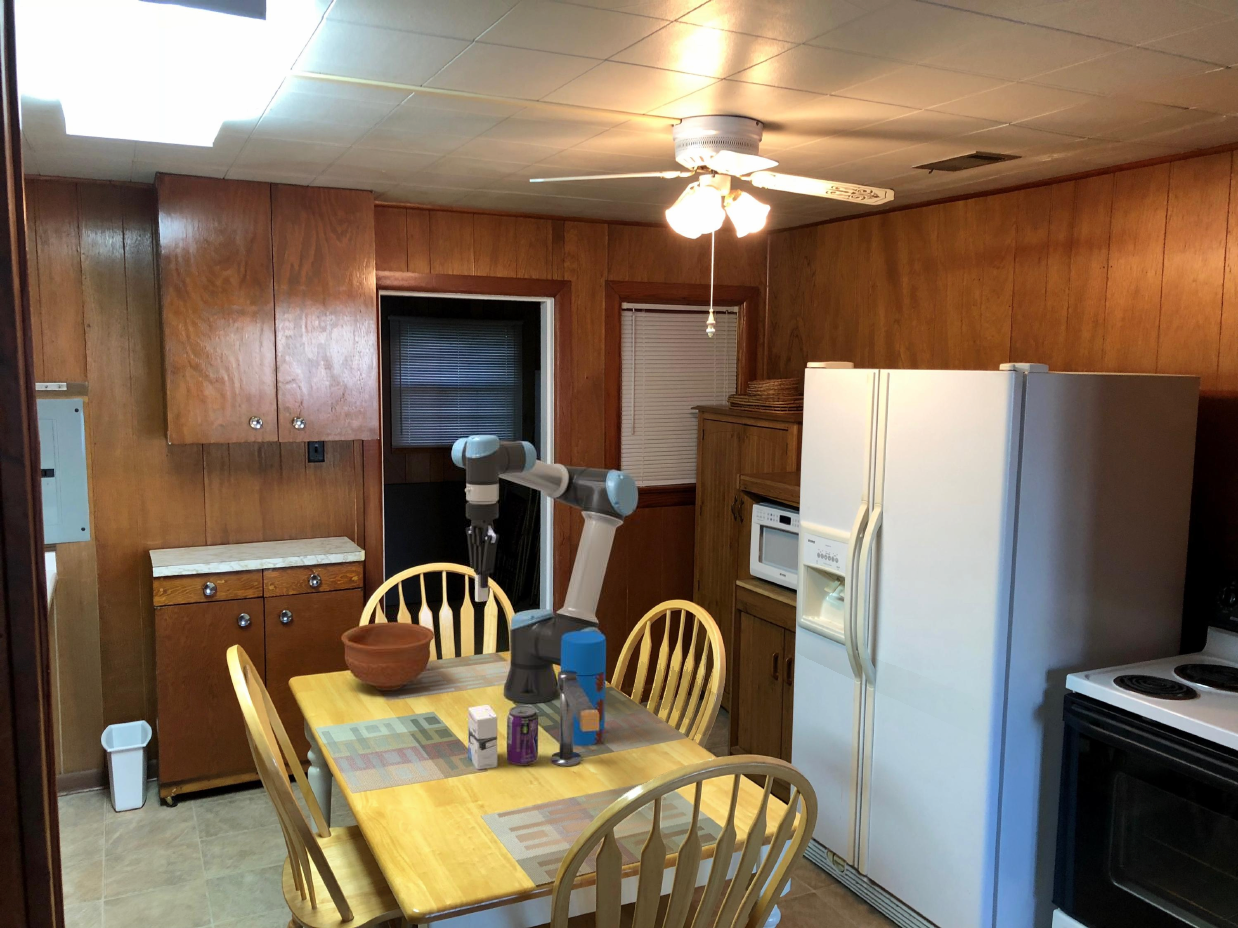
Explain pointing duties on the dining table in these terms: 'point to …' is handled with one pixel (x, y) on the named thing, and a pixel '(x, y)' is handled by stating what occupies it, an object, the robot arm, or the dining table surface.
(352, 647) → the bowl
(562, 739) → the post
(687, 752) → the dining table surface
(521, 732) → the beverage can
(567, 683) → the swing bar
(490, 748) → the ink box
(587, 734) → the thermos
